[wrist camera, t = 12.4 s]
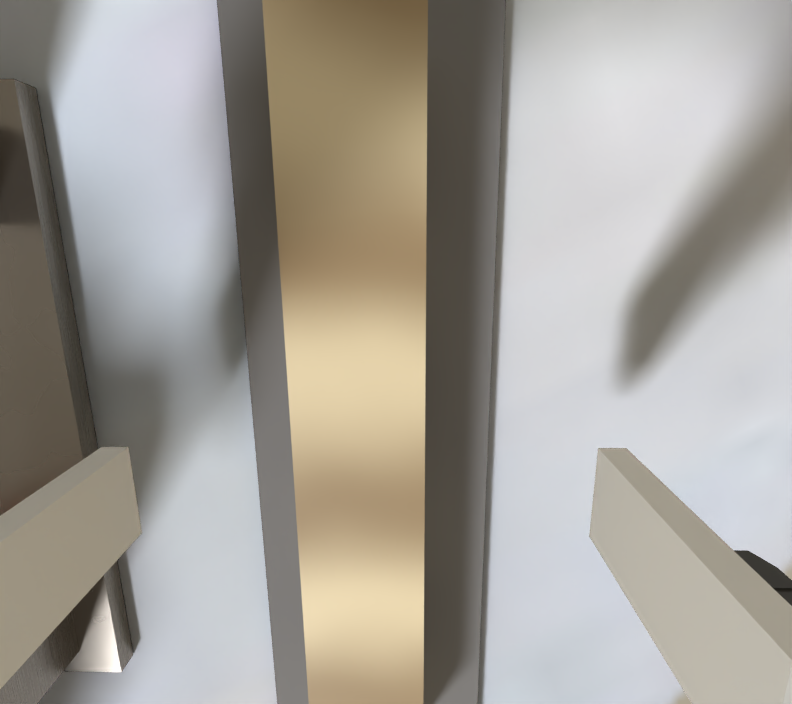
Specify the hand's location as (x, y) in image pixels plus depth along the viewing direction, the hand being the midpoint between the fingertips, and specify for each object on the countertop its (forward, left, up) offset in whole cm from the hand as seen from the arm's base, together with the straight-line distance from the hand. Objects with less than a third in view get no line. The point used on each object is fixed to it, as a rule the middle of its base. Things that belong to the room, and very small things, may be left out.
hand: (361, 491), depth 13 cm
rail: (0, 0, -3) cm, 3 cm away
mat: (0, 0, -4) cm, 4 cm away
